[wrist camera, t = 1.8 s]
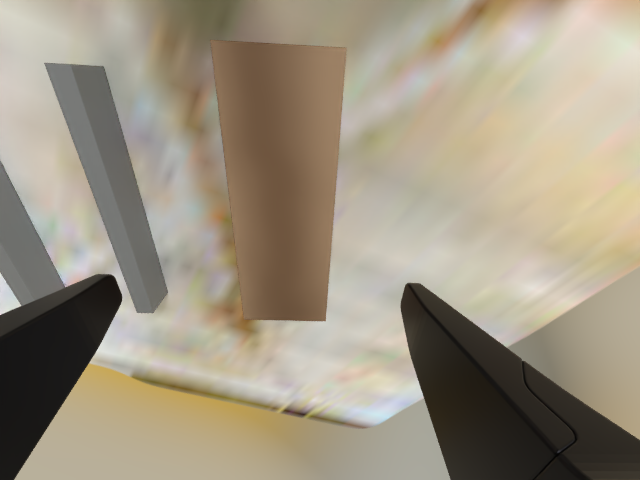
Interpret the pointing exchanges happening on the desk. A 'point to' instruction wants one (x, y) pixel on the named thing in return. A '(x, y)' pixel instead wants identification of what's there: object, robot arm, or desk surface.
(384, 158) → the desk surface
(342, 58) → the block
